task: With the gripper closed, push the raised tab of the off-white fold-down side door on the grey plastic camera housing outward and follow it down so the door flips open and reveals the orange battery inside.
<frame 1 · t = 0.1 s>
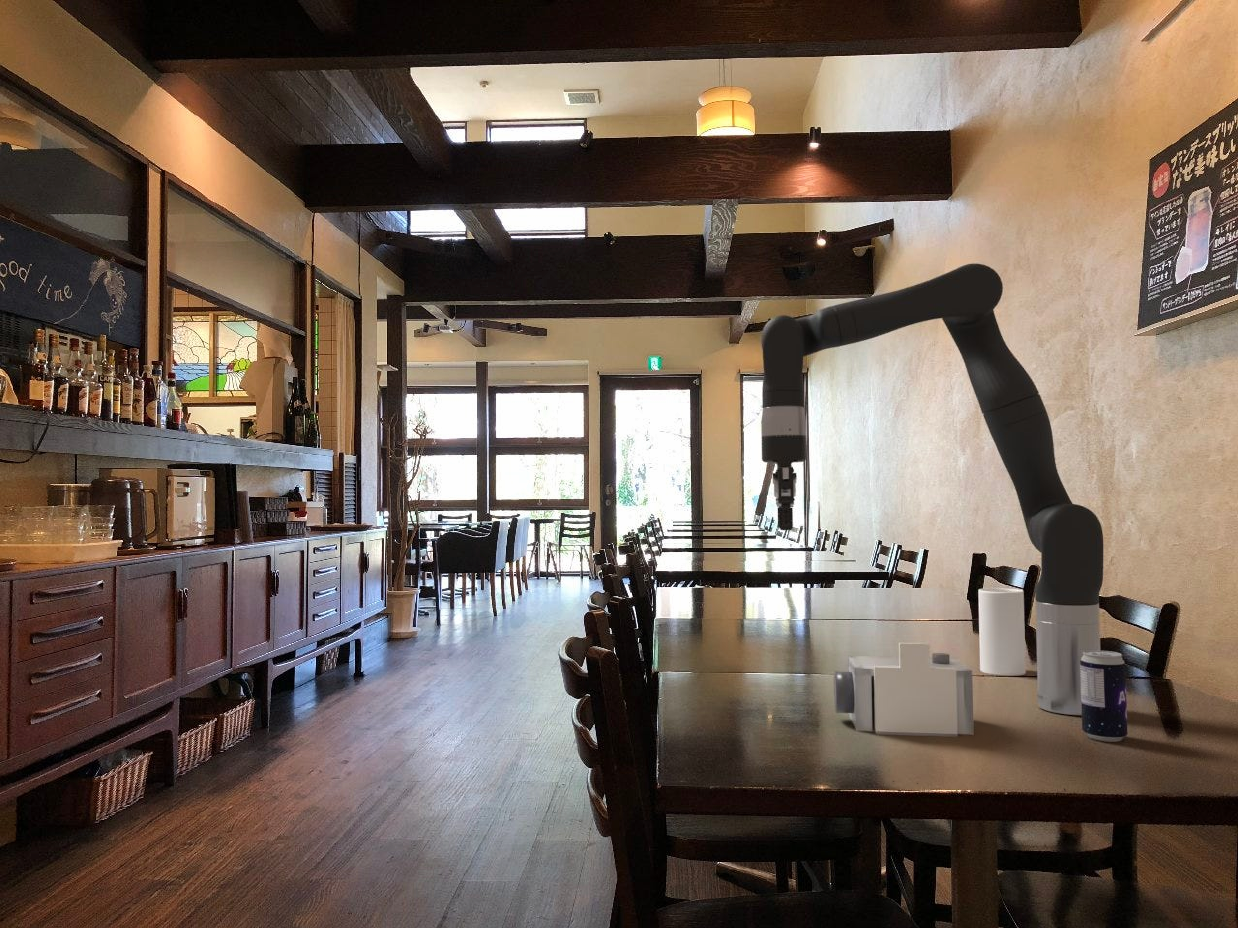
hand: (785, 529, 149), 29 cm above the table, fingers open, 8 cm apart
beverage can: (1104, 739, 125), on the table
camera housing: (908, 731, 129), on the table
cup: (1002, 672, 173), on the table
side door: (914, 690, 124), point 7 cm above the table, hinge at 0.0°
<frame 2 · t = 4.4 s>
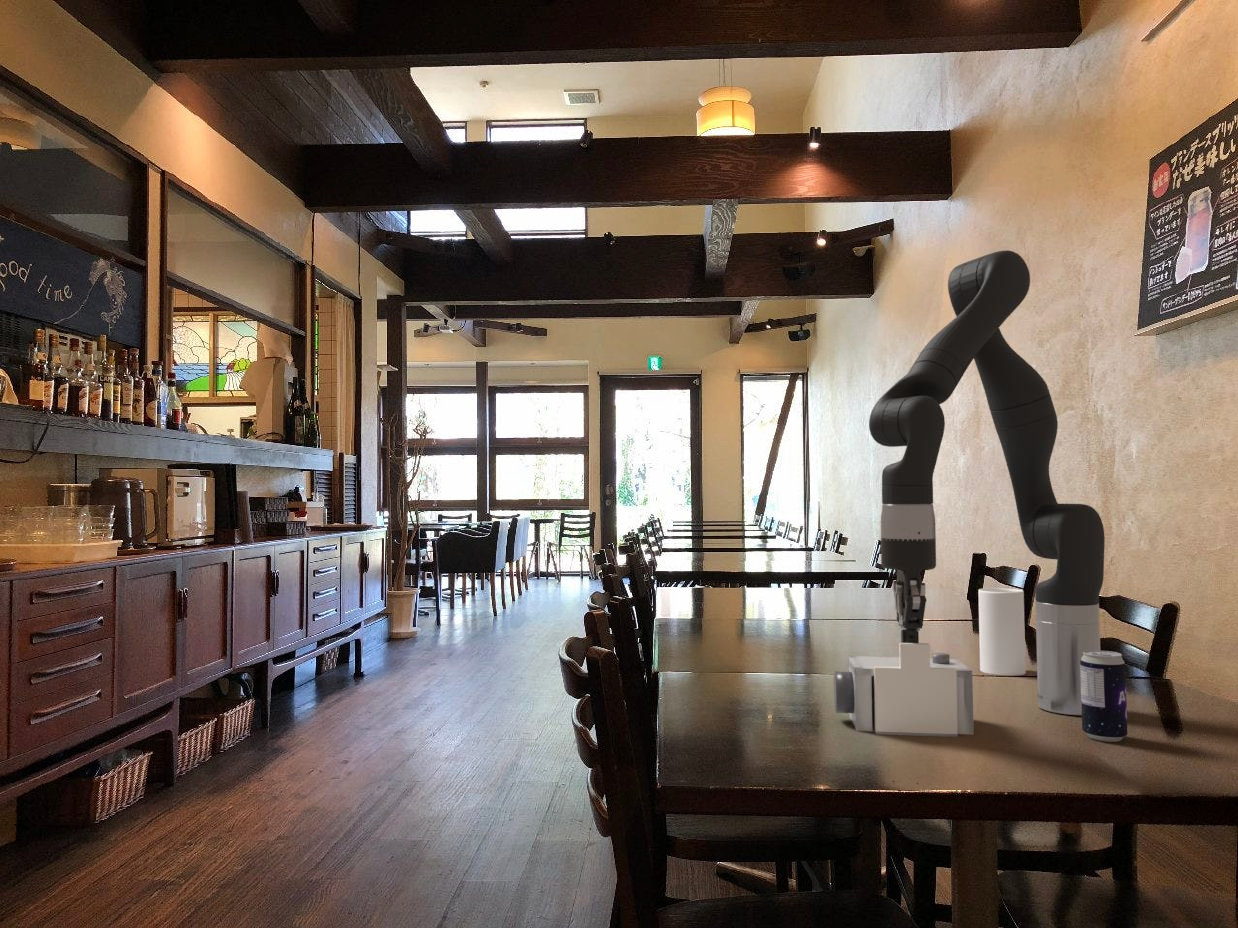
hand: (910, 656, 126), 12 cm above the table, fingers closed
side door: (915, 690, 123), point 7 cm above the table, hinge at 1.6°, touching gripper
everything else where it was.
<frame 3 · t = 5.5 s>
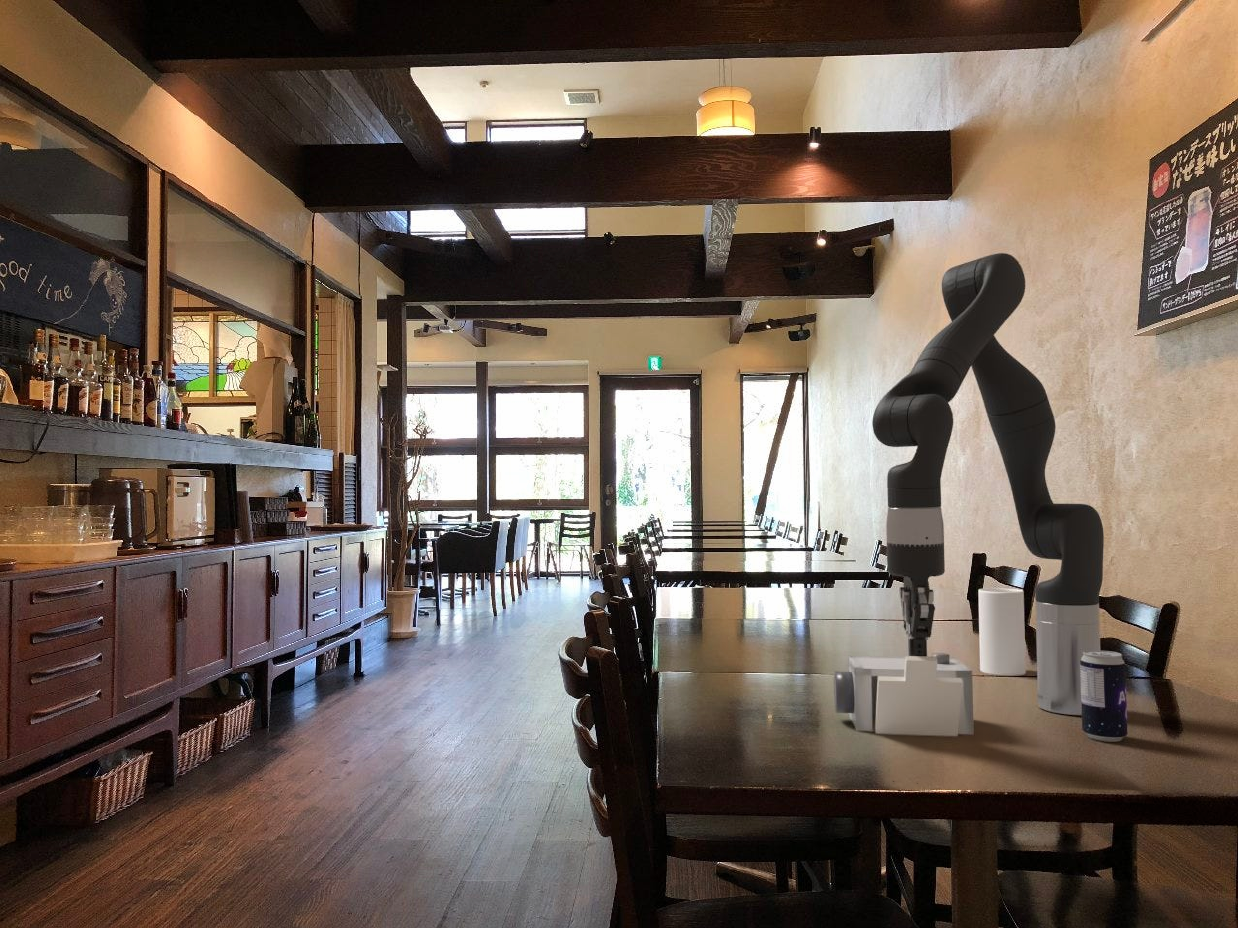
hand: (917, 665, 121), 11 cm above the table, fingers closed
side door: (918, 698, 121), point 7 cm above the table, hinge at 24.8°, touching gripper
everything else where it was.
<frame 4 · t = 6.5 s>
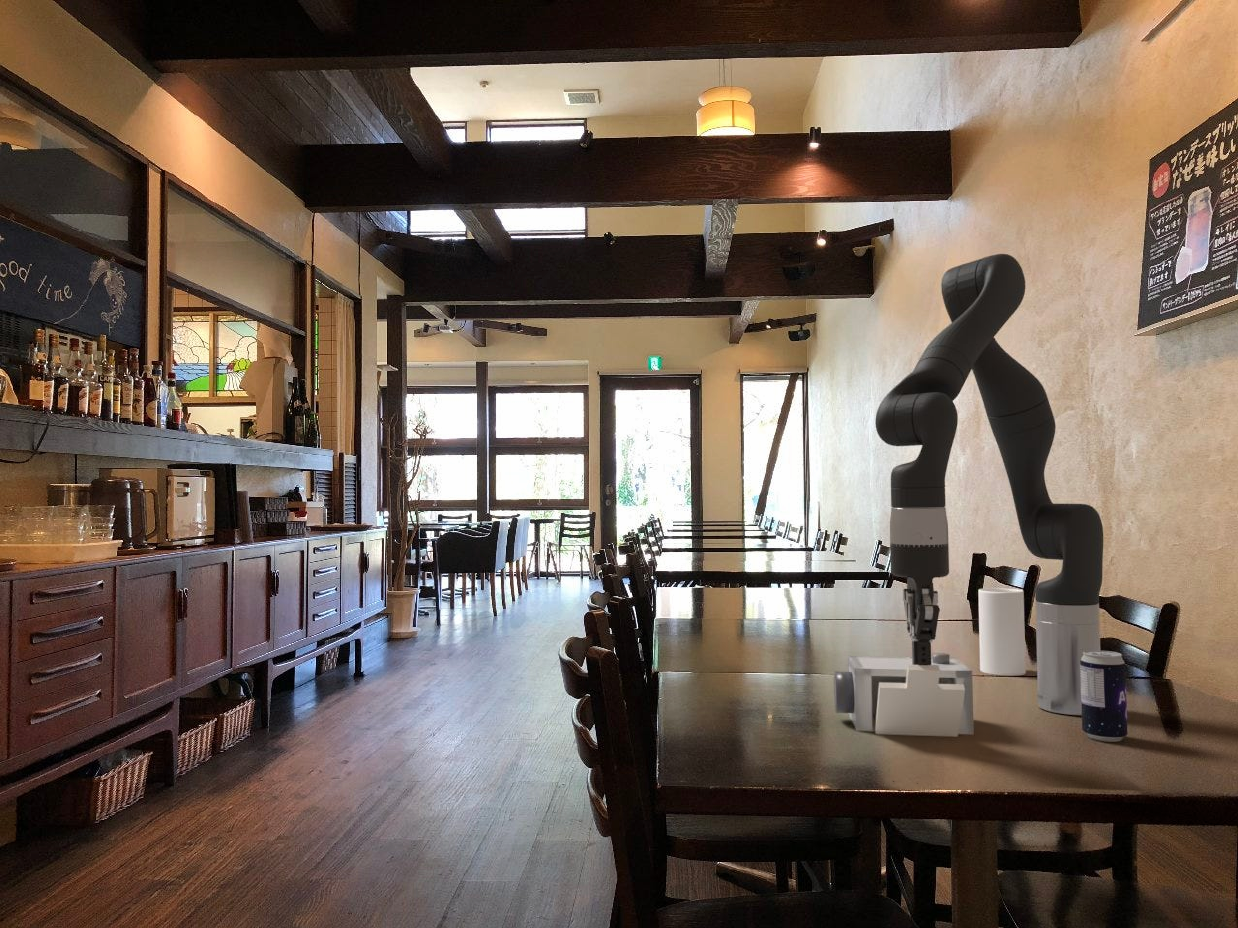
hand: (921, 668, 118), 11 cm above the table, fingers closed
side door: (919, 703, 120), point 6 cm above the table, hinge at 33.2°, touching gripper
everything else where it was.
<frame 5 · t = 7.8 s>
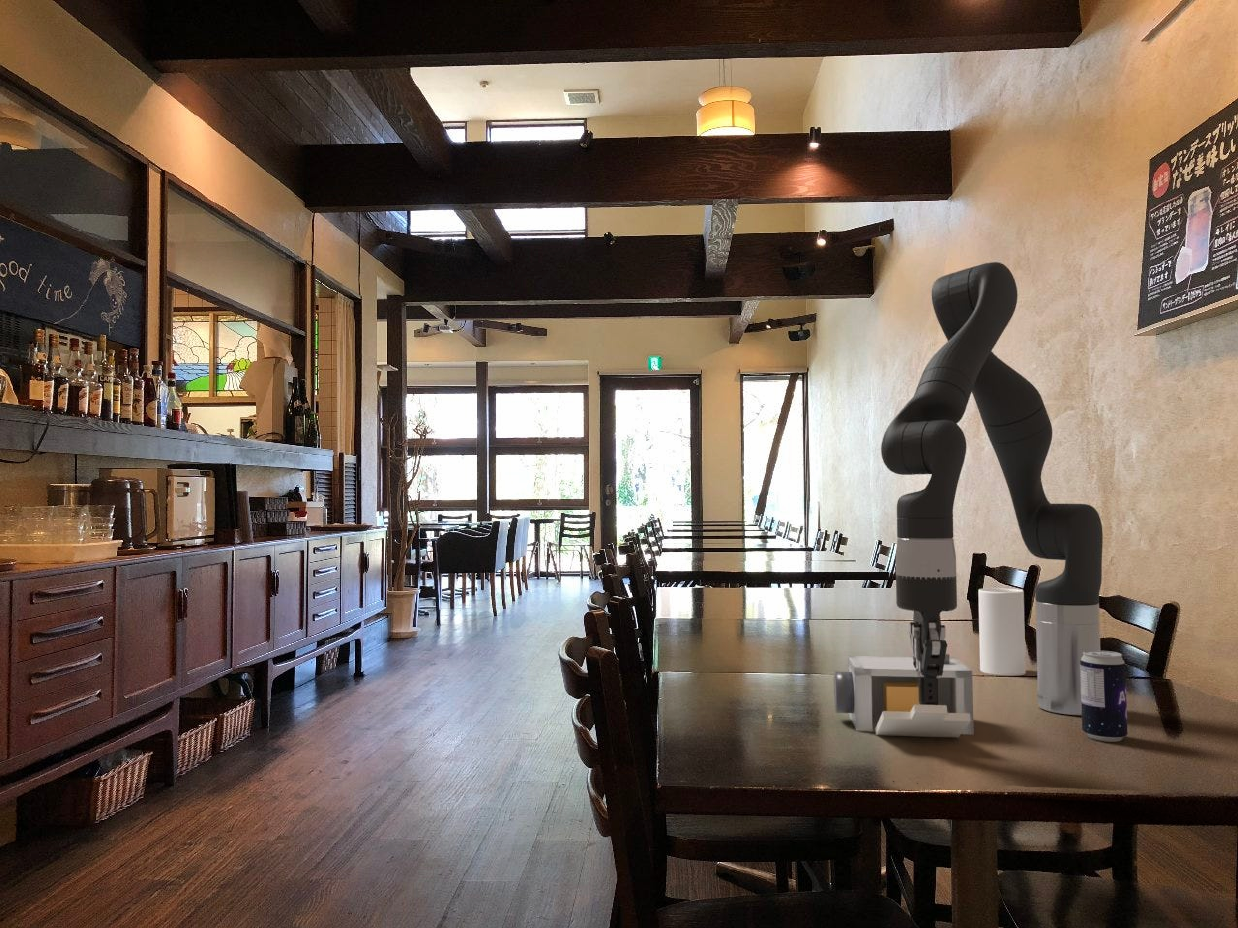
hand: (928, 705, 114), 7 cm above the table, fingers closed
side door: (922, 722, 118), point 4 cm above the table, hinge at 61.1°, touching gripper
everything else where it was.
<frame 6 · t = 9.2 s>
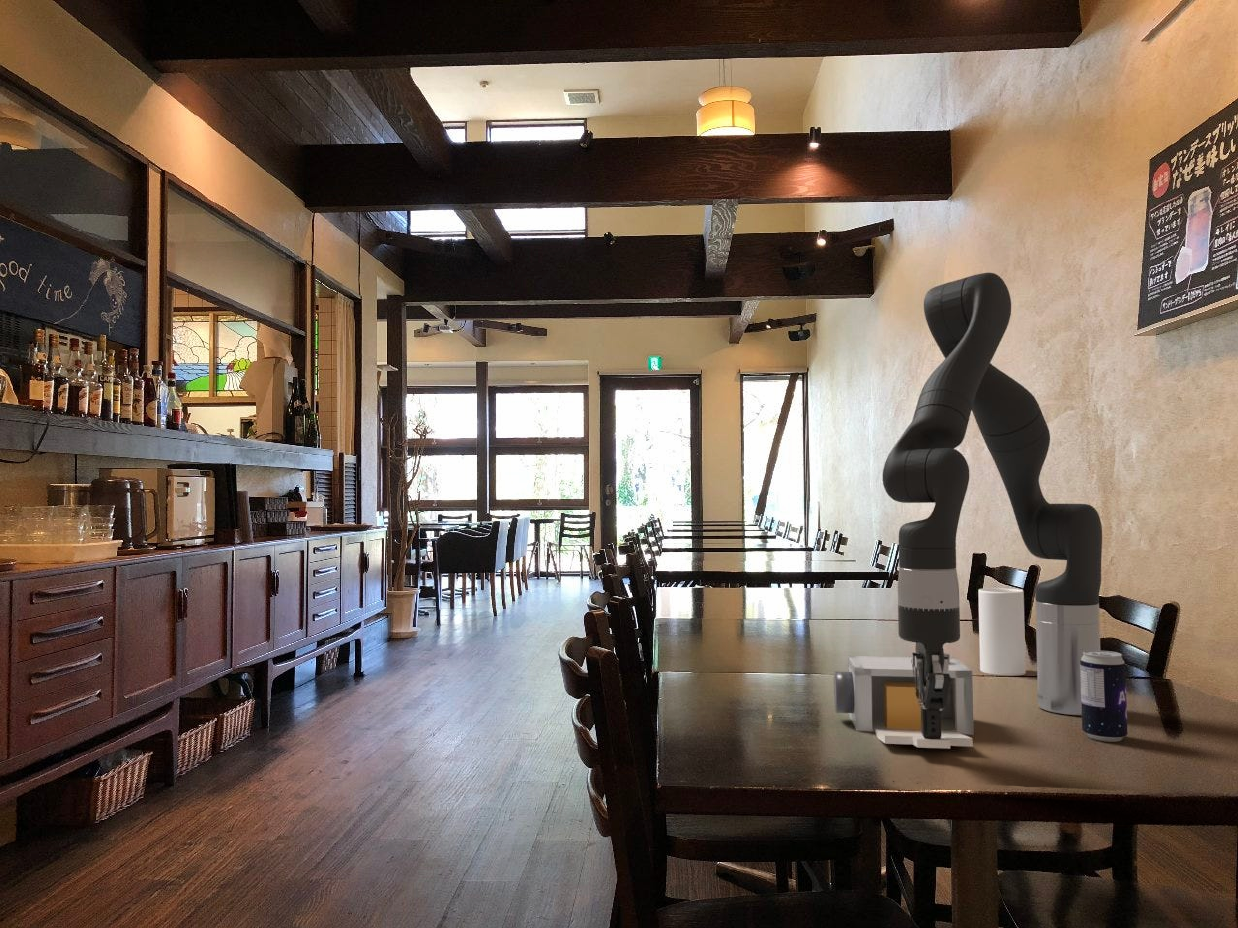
hand: (931, 737, 113), 4 cm above the table, fingers closed
side door: (923, 738, 117), point 2 cm above the table, hinge at 80.5°, touching gripper
everything else where it was.
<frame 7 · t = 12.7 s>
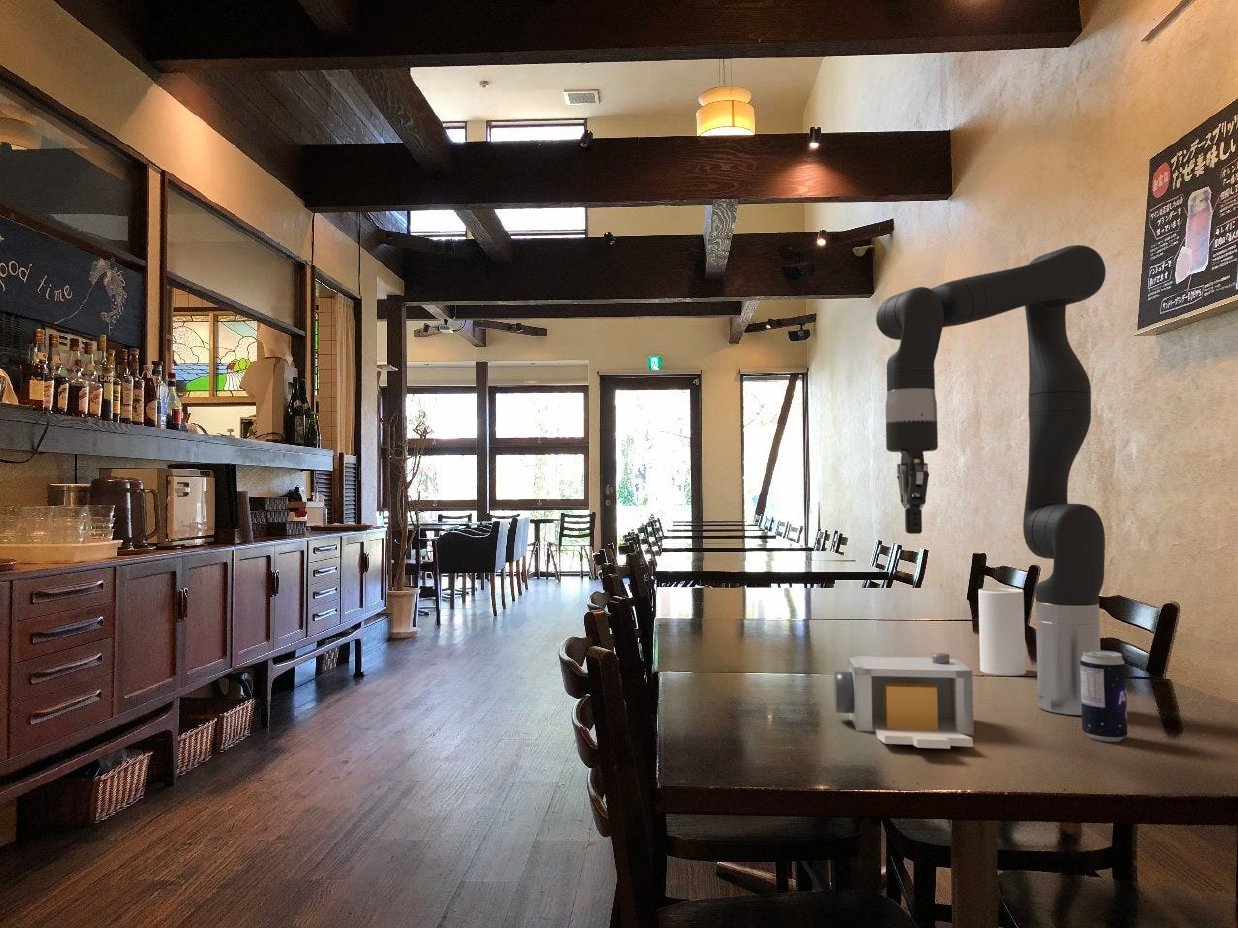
hand: (913, 533, 134), 29 cm above the table, fingers closed
side door: (923, 738, 117), point 2 cm above the table, hinge at 80.6°
everything else where it was.
at the end: side door at +81° (first picture: +0°); side door touching nothing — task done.
